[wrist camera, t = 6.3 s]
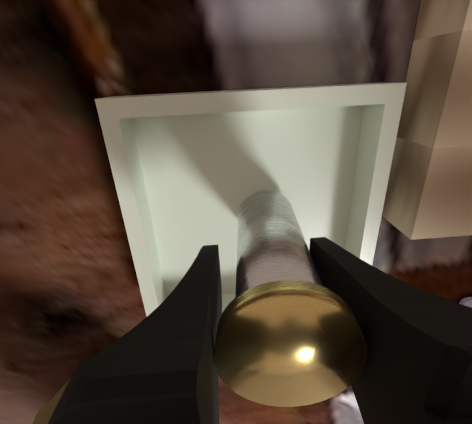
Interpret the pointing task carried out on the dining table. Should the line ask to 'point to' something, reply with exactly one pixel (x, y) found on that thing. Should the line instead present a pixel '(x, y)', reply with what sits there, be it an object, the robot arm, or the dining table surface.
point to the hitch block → (435, 128)
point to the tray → (246, 169)
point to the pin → (283, 316)
